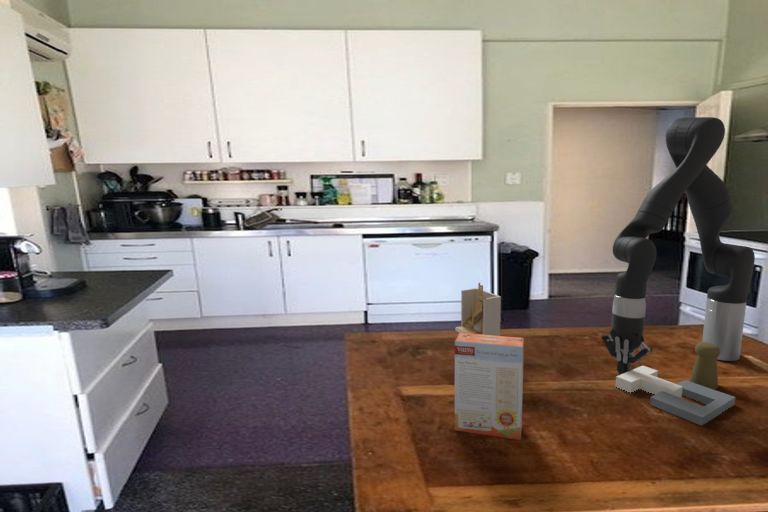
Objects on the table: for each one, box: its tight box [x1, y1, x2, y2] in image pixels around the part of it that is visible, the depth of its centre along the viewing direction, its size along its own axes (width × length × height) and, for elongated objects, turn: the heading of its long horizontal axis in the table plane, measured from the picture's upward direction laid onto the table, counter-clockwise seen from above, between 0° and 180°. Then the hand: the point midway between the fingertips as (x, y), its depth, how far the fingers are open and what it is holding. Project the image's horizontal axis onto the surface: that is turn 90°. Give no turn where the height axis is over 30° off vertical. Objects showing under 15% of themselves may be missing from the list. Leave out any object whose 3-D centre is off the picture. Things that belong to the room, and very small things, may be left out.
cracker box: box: [454, 332, 525, 441], centre depth 97 cm, size 14×6×21 cm, turn 71°
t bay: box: [649, 379, 736, 427], centre depth 106 cm, size 11×16×2 cm
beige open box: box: [455, 282, 502, 336], centre depth 130 cm, size 8×12×26 cm
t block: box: [615, 365, 683, 398], centre depth 114 cm, size 12×12×3 cm
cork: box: [689, 341, 720, 390], centre depth 116 cm, size 6×6×11 cm
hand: (623, 374), depth 120 cm, fingers closed
